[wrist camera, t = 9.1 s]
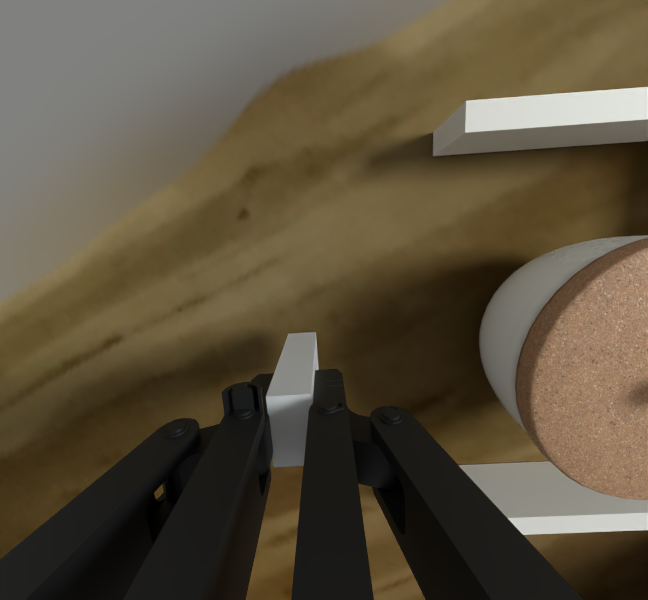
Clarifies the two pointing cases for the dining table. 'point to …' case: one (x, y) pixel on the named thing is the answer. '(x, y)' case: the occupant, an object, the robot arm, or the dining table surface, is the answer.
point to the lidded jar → (577, 360)
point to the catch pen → (536, 133)
